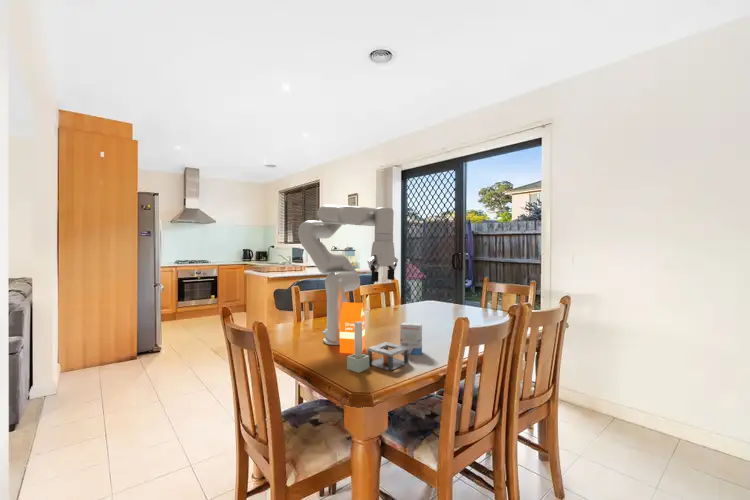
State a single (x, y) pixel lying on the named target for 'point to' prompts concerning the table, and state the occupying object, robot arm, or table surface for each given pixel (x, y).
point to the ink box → (411, 337)
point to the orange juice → (351, 326)
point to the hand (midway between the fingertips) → (383, 280)
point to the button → (385, 359)
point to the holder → (358, 363)
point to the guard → (392, 362)
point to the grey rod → (358, 339)
